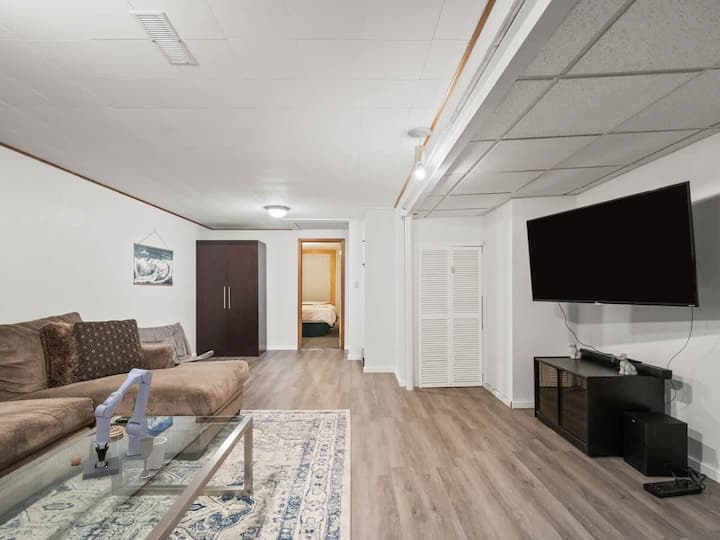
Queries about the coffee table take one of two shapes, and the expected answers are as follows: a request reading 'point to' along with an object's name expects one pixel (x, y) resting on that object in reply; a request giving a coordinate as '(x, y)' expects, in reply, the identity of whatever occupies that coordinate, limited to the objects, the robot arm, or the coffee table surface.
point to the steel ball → (101, 465)
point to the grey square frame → (94, 472)
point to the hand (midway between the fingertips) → (101, 457)
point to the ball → (76, 460)
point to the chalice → (145, 451)
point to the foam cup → (157, 453)
